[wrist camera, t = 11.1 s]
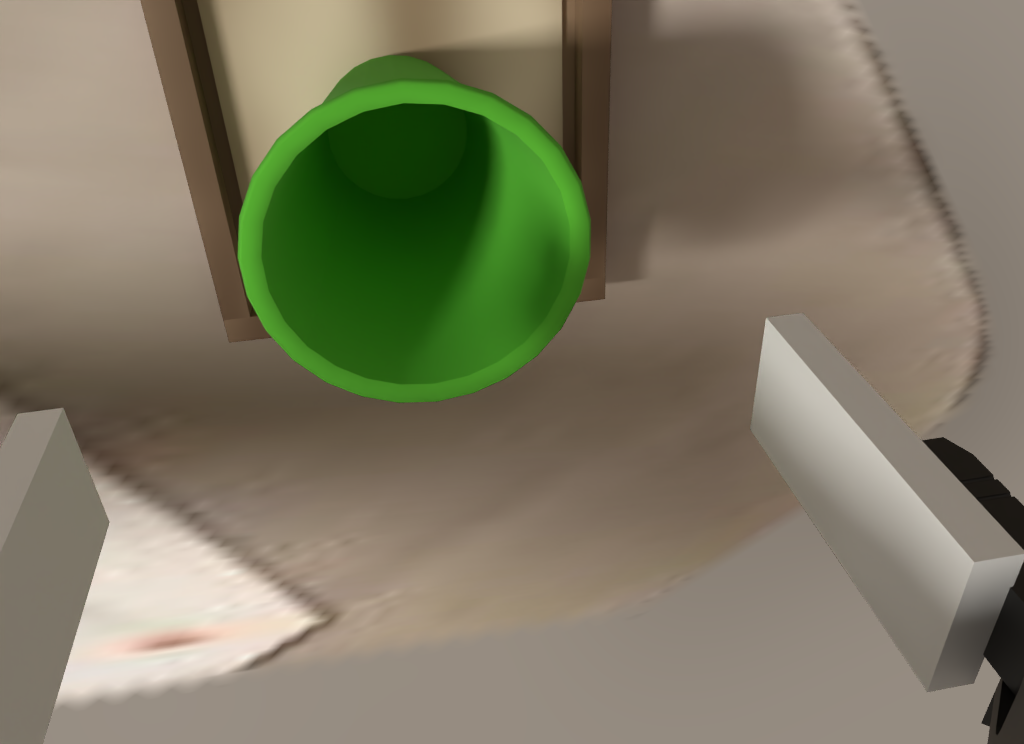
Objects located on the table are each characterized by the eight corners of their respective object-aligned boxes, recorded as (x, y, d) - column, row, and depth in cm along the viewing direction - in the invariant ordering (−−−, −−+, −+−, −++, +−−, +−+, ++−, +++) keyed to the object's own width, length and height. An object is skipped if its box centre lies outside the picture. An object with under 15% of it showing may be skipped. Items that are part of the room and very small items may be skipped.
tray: (234, 317, 35) (229, 342, 34) (130, -100, 27) (116, -93, 25) (592, 276, 37) (604, 298, 35) (599, -127, 29) (614, -122, 27)
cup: (568, 141, 33) (656, 273, 24) (385, 285, 35) (402, 458, 26) (411, -69, 28) (446, -6, 19) (210, 112, 30) (155, 248, 21)
